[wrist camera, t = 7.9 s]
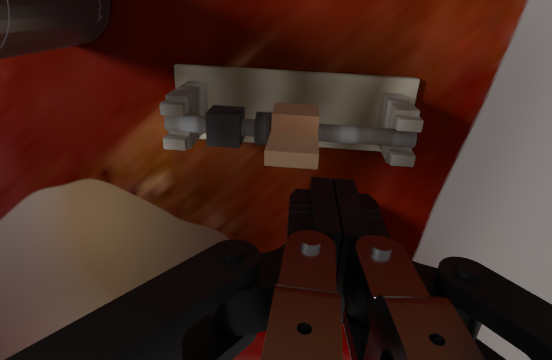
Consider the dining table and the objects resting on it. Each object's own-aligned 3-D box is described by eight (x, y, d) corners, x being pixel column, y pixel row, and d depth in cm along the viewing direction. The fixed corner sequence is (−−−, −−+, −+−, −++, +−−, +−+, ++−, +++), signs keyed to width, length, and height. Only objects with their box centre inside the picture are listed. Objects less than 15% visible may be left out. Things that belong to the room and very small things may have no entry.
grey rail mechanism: (182, 134, 43) (150, 166, 35) (176, 63, 40) (140, 80, 31) (402, 149, 42) (425, 187, 33) (417, 77, 38) (447, 99, 30)
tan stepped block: (274, 142, 36) (263, 182, 28) (276, 102, 35) (265, 132, 26) (314, 145, 36) (315, 186, 28) (318, 104, 34) (320, 136, 26)
